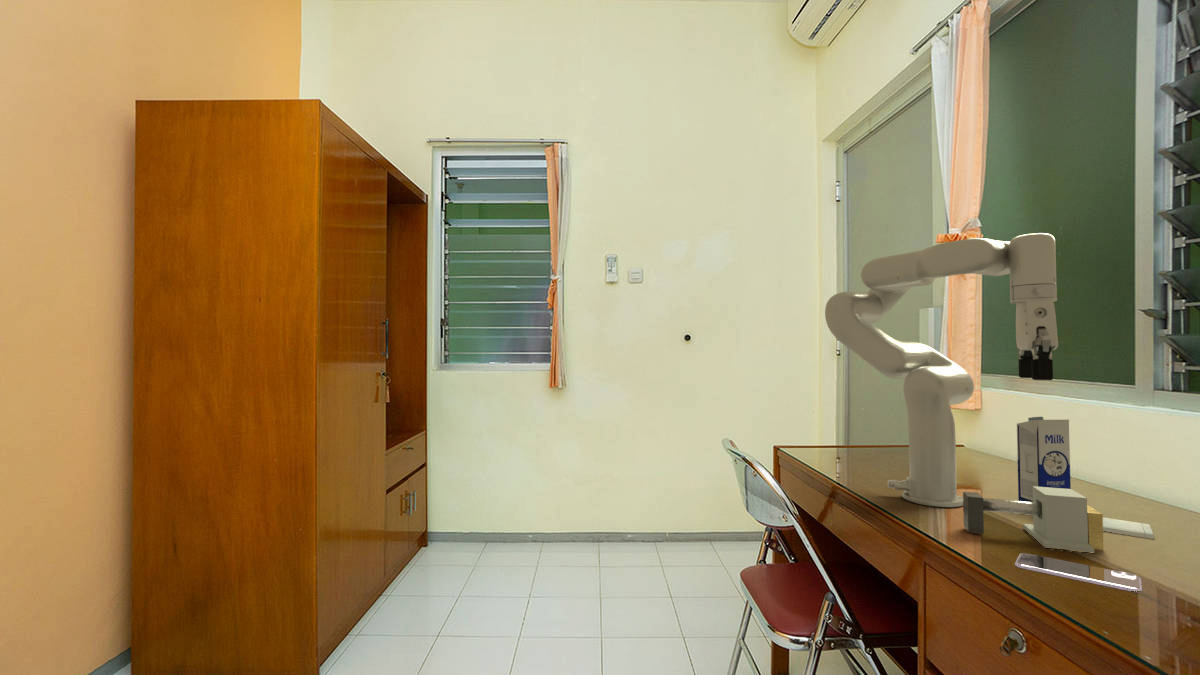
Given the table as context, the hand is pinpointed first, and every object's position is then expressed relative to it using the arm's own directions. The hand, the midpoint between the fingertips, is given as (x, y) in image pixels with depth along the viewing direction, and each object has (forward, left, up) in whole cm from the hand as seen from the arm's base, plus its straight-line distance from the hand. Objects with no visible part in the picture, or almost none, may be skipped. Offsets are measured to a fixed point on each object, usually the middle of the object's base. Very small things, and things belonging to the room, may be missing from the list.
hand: (1035, 378), depth 113 cm
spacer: (+5, -10, -30) cm, 32 cm away
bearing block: (0, -10, -30) cm, 31 cm away
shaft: (-6, -10, -29) cm, 31 cm away
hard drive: (+12, +4, -30) cm, 33 cm away
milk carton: (+6, +19, -30) cm, 36 cm away
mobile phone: (-3, -27, -30) cm, 41 cm away
